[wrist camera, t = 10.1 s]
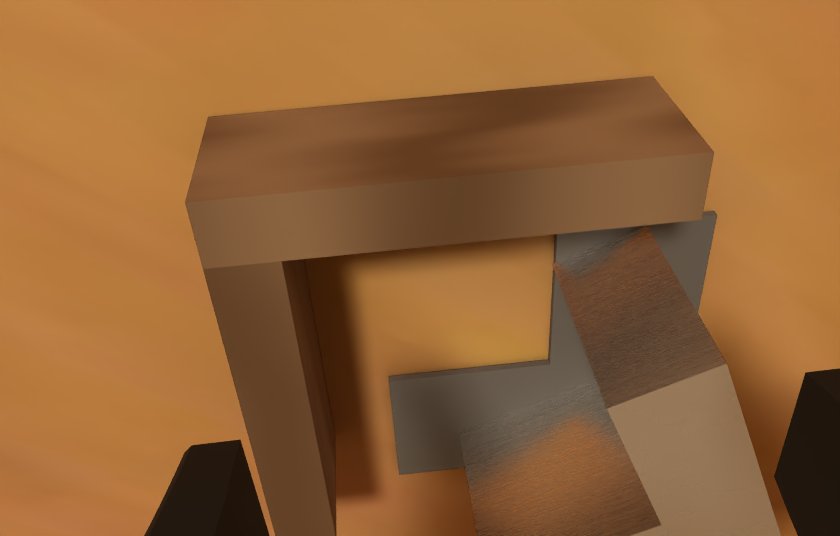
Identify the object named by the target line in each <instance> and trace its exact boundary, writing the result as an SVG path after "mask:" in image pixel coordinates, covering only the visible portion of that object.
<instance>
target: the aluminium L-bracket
mask: <svg viewBox="0 0 840 536" xmlns="http://www.w3.org/2000/svg"><path fill="white" fill-rule="evenodd" d="M552 266H553V268H554V271H555V273H556V276H557V279H558V281H559V284H560V287H561V289H562V292H563V295H564V297H565V300H566V302H567V305H568V308H569V310H570V313H571V316H572V318H573V321H574V324H575V326H576V329H577V331H578V334H579V337H580V339H581V342H582V345H583V347H584V350H585V353H586V355H587V358H588V360H589V363H590V366H591V368H592V371H593V374H594V376H595V379H594V380H591V381H588V382H586V383H583V384H581V385H578V386H575V387H573V388H570V389H568V390H565V391H562V392H560V393H557V394H555V395H552V396H549V397H547V398H544V399H542V400H539V401H536V402H534V403H531V404H529V405H526V406H523V407H521V408H518V409H515V410H513V411H510V412H508V413H505V414H502V415H500V416H497V417H495V418H492V419H489V420H487V421H484V422H482V423H479V424H476V425H474V426H471V427H469V428H466V429H463V430H461V431H459V435H460V441H461V447H462V453H463V458H464V464H465V470H466V476H467V482H468V487H469V493H470V499H471V505H472V510H473V516H474V522H475V528H476V534H477V536H781V534H780V531H779V528H778V525H777V522H776V519H775V515H774V512H773V509H772V506H771V503H770V499H769V496H768V493H767V490H766V487H765V483H764V480H763V477H762V474H761V471H760V468H759V464H758V461H757V458H756V455H755V452H754V448H753V445H752V442H751V439H750V436H749V433H748V429H747V426H746V423H745V420H744V417H743V413H742V410H741V407H740V404H739V401H738V398H737V394H736V391H735V388H734V385H733V382H732V378H731V375H730V372H729V369H728V366H727V363H726V361H725V360H724V358H723V356H722V354H721V353H720V351H719V349H718V347H717V346H716V344H715V342H714V341H713V339H712V337H711V335H710V334H709V332H708V330H707V328H706V327H705V325H704V323H703V321H702V320H701V318H700V316H699V315H698V313H697V311H696V309H695V308H694V306H693V304H692V302H691V301H690V299H689V297H688V296H687V294H686V292H685V290H684V289H683V287H682V285H681V283H680V282H679V280H678V278H677V276H676V275H675V273H674V271H673V270H672V268H671V266H670V264H669V263H668V261H667V259H666V257H665V256H664V254H663V252H662V251H661V249H660V247H659V245H658V244H657V242H656V240H655V238H654V237H653V235H652V233H651V231H650V230H649V228H648V226H647V225H644V226H641V227H639V228H636V229H634V230H631V231H629V232H627V233H624V234H622V235H619V236H617V237H615V238H612V239H610V240H607V241H605V242H603V243H600V244H598V245H595V246H593V247H591V248H588V249H586V250H583V251H581V252H579V253H576V254H574V255H571V256H569V257H567V258H564V259H562V260H559V261H557V262H555V263H552Z"/></svg>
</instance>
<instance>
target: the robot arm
mask: <svg viewBox="0 0 840 536" xmlns="http://www.w3.org/2000/svg"><path fill="white" fill-rule="evenodd" d="M774 477H775V480H776V482H777V485H778V487H779V490H780V492H781V495H782V498H783V500H784V503H785V505H786V508H787V510H788V513H789V516H790V518H791V520H792V523H793V525H794V528H795V530H796V532H797V535H798V536H840V369H832V370H823V371H815V372H807V373H805V376H804V380H803V383H802V386H801V390H800V393H799V396H798V399H797V403H796V406H795V409H794V413H793V416H792V419H791V423H790V426H789V429H788V433H787V436H786V439H785V443H784V446H783V449H782V452H781V456H780V459H779V462H778V466H777V469H776V472H775V476H774ZM144 536H269V533H268V529H267V526H266V523H265V519H264V516H263V513H262V510H261V506H260V503H259V500H258V496H257V493H256V490H255V486H254V483H253V480H252V477H251V473H250V470H249V467H248V463H247V460H246V457H245V454H244V450H243V447H242V444H241V440H234V441H225V442H217V443H208V444H200V445H192V446H191V447H190V448H189V449H188V450H187V451H186V452H185V453H184V455H183V457H182V460H181V462H180V464H179V466H178V468H177V471H176V473H175V475H174V477H173V479H172V481H171V483H170V485H169V487H168V490H167V492H166V494H165V496H164V498H163V500H162V502H161V504H160V506H159V508H158V510H157V512H156V514H155V516H154V518H153V520H152V522H151V524H150V526H149V528H148V530H147V532H146V534H145V535H144Z"/></svg>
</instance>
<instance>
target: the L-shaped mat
mask: <svg viewBox="0 0 840 536" xmlns="http://www.w3.org/2000/svg"><path fill="white" fill-rule="evenodd" d="M716 219H717V214H716V213H715V212H714V211H708V212H703V215H702V220H694V221H684V222H674V223H664V224H654V225H647V226H648V228H649V230H650V231H651V233H652V235H653V237H654V238H655V240H656V242H657V244H658V245H659V247H660V249H661V251H662V252H663V254H664V256H665V257H666V259H667V261H668V263H669V264H670V266H671V268H672V270H673V271H674V273H675V275H676V276H677V278H678V280H679V282H680V283H681V285H682V287H683V289H684V290H685V292H686V294H687V296H688V297H689V299H690V301H691V302H692V304H693V306H694V308H695V309H696V311H697V313H698V310H699V304H700V299H701V294H702V289H703V284H704V279H705V274H706V269H707V264H708V259H709V254H710V249H711V244H712V239H713V234H714V229H715V224H716ZM639 227H641V226H633V227H623V228H613V229H603V230H593V231H583V232H573V233H563V234H555V246H554V263H555V262H557V261H559V260H562V259H564V258H567V257H569V256H571V255H574V254H576V253H579V252H581V251H583V250H586V249H588V248H591V247H593V246H595V245H598V244H600V243H603V242H605V241H607V240H610V239H612V238H615V237H617V236H619V235H622V234H624V233H627V232H629V231H631V230H634V229H636V228H639ZM594 379H595V376H594V374H593V371H592V368H591V366H590V363H589V360H588V358H587V355H586V353H585V350H584V347H583V345H582V342H581V339H580V337H579V334H578V331H577V329H576V326H575V324H574V321H573V318H572V316H571V313H570V310H569V308H568V305H567V302H566V300H565V297H564V295H563V292H562V289H561V287H560V284H559V281H558V279H557V276H556V273H555V271H554V268H553V282H552V300H551V319H550V337H549V355H548V360H540V361H530V362H521V363H511V364H502V365H492V366H483V367H473V368H464V369H454V370H445V371H435V372H426V373H416V374H407V375H397V376H389V386H390V395H391V404H392V413H393V422H394V432H395V441H396V450H397V459H398V468H399V475H403V474H412V473H421V472H430V471H439V470H448V469H457V468H465V464H464V458H463V453H462V447H461V441H460V435H459V431H461V430H463V429H466V428H469V427H471V426H474V425H476V424H479V423H482V422H484V421H487V420H489V419H492V418H495V417H497V416H500V415H502V414H505V413H508V412H510V411H513V410H515V409H518V408H521V407H523V406H526V405H529V404H531V403H534V402H536V401H539V400H542V399H544V398H547V397H549V396H552V395H555V394H557V393H560V392H562V391H565V390H568V389H570V388H573V387H575V386H578V385H581V384H583V383H586V382H588V381H591V380H594Z"/></svg>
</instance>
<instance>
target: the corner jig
mask: <svg viewBox="0 0 840 536" xmlns="http://www.w3.org/2000/svg"><path fill="white" fill-rule="evenodd" d="M713 156H714V151H713V150H712V149H711V148H710V146H709V145H708V144H707V143H706V141H705V140H704V139H703V138H702V137H701V135H700V134H699V133H698V132H697V130H696V129H695V128H694V127H693V125H692V124H691V123H690V122H689V120H688V119H687V118H686V117H685V115H684V114H683V113H682V112H681V110H680V109H679V108H678V107H677V106H676V104H675V103H674V102H673V101H672V99H671V98H670V97H669V96H668V94H667V93H666V92H665V91H664V89H663V88H662V87H661V86H660V84H659V83H658V82H657V81H656V79H655V78H654V77H653V76H651V77H640V78H629V79H618V80H607V81H596V82H585V83H574V84H563V85H552V86H541V87H530V88H519V89H509V90H498V91H487V92H476V93H465V94H454V95H443V96H432V97H421V98H410V99H399V100H388V101H377V102H366V103H355V104H344V105H333V106H322V107H311V108H300V109H289V110H278V111H267V112H256V113H245V114H234V115H223V116H212V117H208V119H207V123H206V127H205V130H204V134H203V138H202V142H201V145H200V149H199V153H198V156H197V160H196V164H195V168H194V171H193V175H192V179H191V182H190V186H189V190H188V194H187V197H186V201H185V204H186V208H187V212H188V215H189V219H190V223H191V226H192V230H193V234H194V237H195V241H196V245H197V248H198V252H199V256H200V259H201V263H202V267H203V270H204V274H205V278H206V282H207V285H208V289H209V293H210V296H211V300H212V304H213V307H214V311H215V315H216V318H217V322H218V326H219V329H220V333H221V337H222V341H223V344H224V348H225V352H226V355H227V359H228V363H229V366H230V370H231V374H232V377H233V381H234V385H235V388H236V392H237V396H238V399H239V403H240V407H241V411H242V414H243V418H244V422H245V425H246V429H247V433H248V436H249V440H250V444H251V447H252V451H253V455H254V458H255V462H256V466H257V469H258V473H259V477H260V481H261V484H262V488H263V492H264V495H265V499H266V503H267V506H268V510H269V514H270V517H271V521H272V525H273V528H274V532H275V536H336V451H335V433H334V427H333V421H332V416H331V410H330V404H329V399H328V393H327V387H326V381H325V376H324V370H323V364H322V359H321V353H320V347H319V342H318V336H317V330H316V325H315V319H314V313H313V307H312V302H311V296H310V290H309V285H308V279H307V273H306V268H305V262H304V259H309V258H320V257H330V256H340V255H350V254H360V253H370V252H380V251H390V250H401V249H411V248H421V247H431V246H441V245H451V244H461V243H471V242H482V241H492V240H502V239H512V238H522V237H532V236H542V235H552V234H563V233H573V232H583V231H593V230H603V229H613V228H623V227H633V226H644V225H654V224H664V223H674V222H684V221H694V220H702V215H703V210H704V204H705V199H706V193H707V188H708V183H709V177H710V172H711V166H712V161H713Z"/></svg>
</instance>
